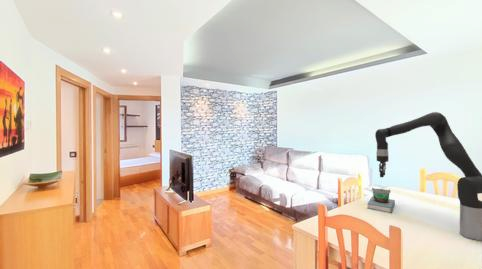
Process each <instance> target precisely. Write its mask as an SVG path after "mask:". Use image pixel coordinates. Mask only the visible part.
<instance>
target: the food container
mask: <svg viewBox="0 0 482 269" xmlns="http://www.w3.org/2000/svg"><path fill="white" fill-rule="evenodd" d="M371 191H372V195H373V197H374V201H376V202H379V203H388V201H389V199H390V193H391V192H392V191H391V189H384V188H375V187H371Z"/></svg>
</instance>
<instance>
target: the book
mask: <svg viewBox="0 0 482 269" xmlns="http://www.w3.org/2000/svg"><path fill="white" fill-rule="evenodd" d="M395 206H396V200H395V199H391V198H389V201H388V203H379V202H376V201H374V197H373V196H371V197H370V199H369V200H368V202H367V210H368V209H369V210H373V211H379V212H384V213H388V214H393V210H394V208H395Z"/></svg>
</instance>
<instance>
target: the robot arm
mask: <svg viewBox="0 0 482 269" xmlns="http://www.w3.org/2000/svg"><path fill="white" fill-rule="evenodd" d="M421 127H431V129H432V130H433V131H434V133H435V135H436V136H437V138H438V142H439V146H440V148H441V151H442V152H443V154H444V156H445V157H446V159H447V160H448V161H450V162H451V163H452V164H453V165H454V166H456V167H457V168H458V169H459V170H460V171H461V172H462V173H463V175H464V177H460V178H459V179H458V181H457V185H456V186H457V188H456V189H457V198H458V201H459V234H460V235H461V236H463V237H464V238H466V239H471V240H476V241H478V242H479V241H480V242H482V200H480V199H479V196H478V194H482V173H481V171H479V168H477V166H476V165H475V163H474V162H473V160H472V159H471V157H470V156H469V154H468V153H467V151H466V149H465V146H463V144H462V143H461V141H460V139H458V137H457V136H456V135H455V133H454V132H453V131H452V128H451V127H450V124H449V121H448V119H447V118H446V116H444V114H442V113H440V112H437V111H432V112H430V113H427V114H425V115H422V116H419V117H417V118H414V119H413V120H412V119H411V120H408V121H406V122H403V123H398V124H394V125H392V126H390V127H386V128H379V129H377V130H376V131H375V135H374V136H375V141H376V162H379V164H378V167H379V168H378V172H379V178H384V176H386V170H387V164H386V163H388V162H389V143H388V142H387V138H389V137H393V136H397V135H398V136H399V135H403V134H406V133H409V132H411V131H413V130H416V129H419V128H421Z"/></svg>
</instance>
